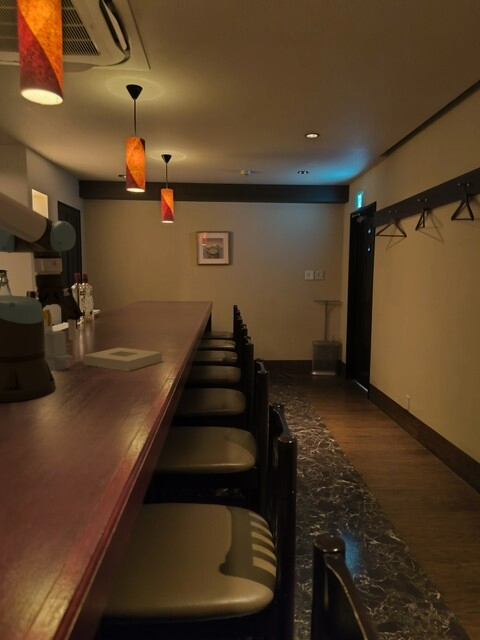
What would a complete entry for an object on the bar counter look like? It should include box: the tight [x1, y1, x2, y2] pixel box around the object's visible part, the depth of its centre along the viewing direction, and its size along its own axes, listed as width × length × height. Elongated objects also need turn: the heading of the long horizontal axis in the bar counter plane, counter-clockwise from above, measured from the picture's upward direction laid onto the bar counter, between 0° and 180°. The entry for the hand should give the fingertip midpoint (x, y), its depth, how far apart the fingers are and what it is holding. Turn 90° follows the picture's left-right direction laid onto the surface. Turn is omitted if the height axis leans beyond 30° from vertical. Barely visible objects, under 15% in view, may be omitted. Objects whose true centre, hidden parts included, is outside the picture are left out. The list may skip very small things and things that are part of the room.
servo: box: [44, 328, 74, 372], centre depth 128 cm, size 4×12×12 cm, turn 60°
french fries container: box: [42, 308, 54, 332], centre depth 147 cm, size 5×11×18 cm, turn 14°
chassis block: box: [83, 347, 163, 372], centre depth 134 cm, size 15×19×3 cm
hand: (54, 344), depth 128 cm, fingers open, 13 cm apart
